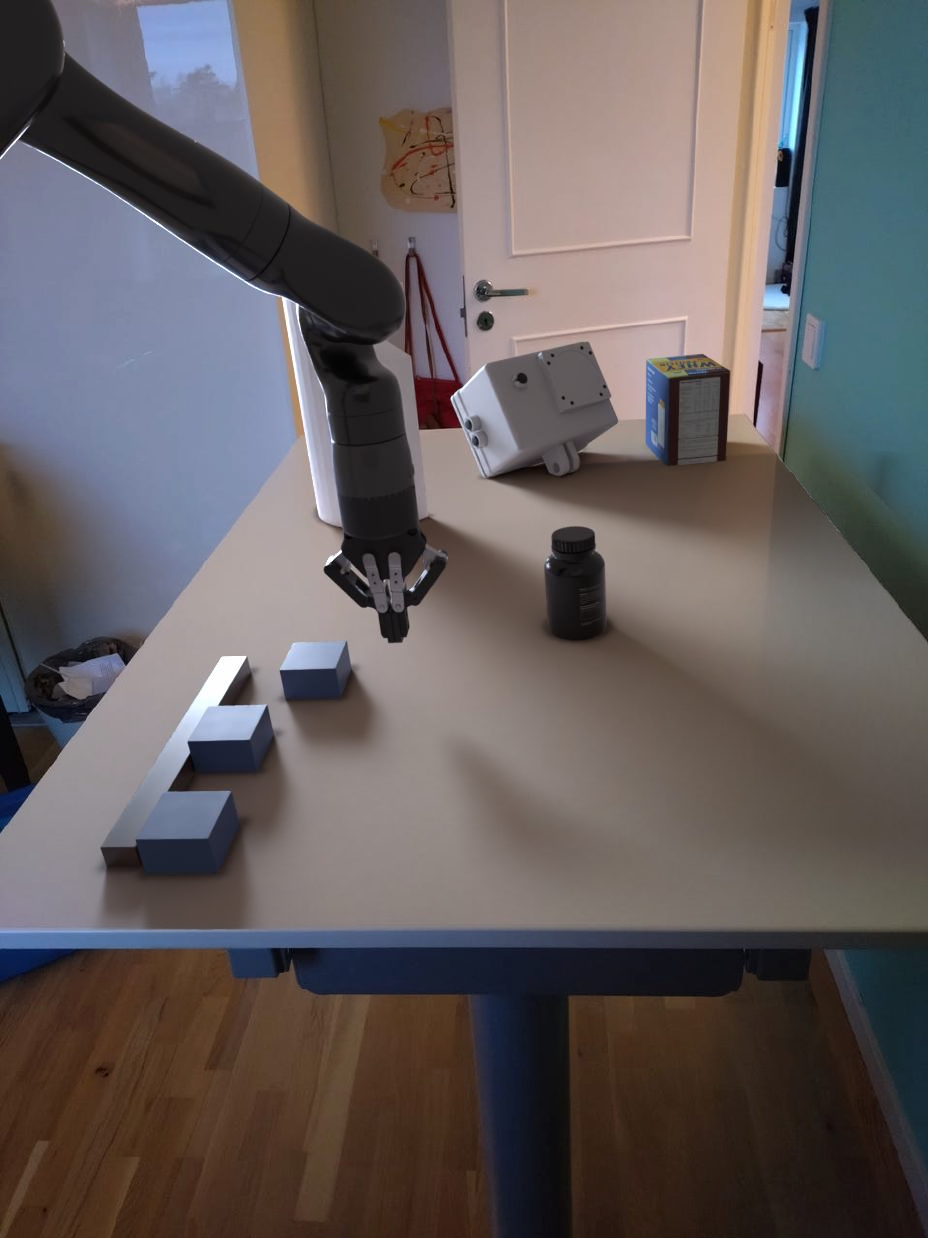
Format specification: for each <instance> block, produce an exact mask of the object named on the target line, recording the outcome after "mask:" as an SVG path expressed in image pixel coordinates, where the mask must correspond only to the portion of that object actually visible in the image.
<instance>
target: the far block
mask: <svg viewBox="0 0 928 1238" xmlns="http://www.w3.org/2000/svg"><path fill="white" fill-rule="evenodd" d="M351 672H352V664H351V657H350V650H349V644H348V640H331V641H329V640H327V641H302V642H300V641H299V642H293V643H292V645H291V647H290V649H289V651H288V652H287V655H286V657H285V659H284V661H283V663H282V664H281V667H280V669H279V675H280V679H281V684H282V685H281V686H282V689H283V695H284V699H285V700H303V699H305V700H307V699H309V700H311V699H338V698H339V699H340V698H342V696H343V693H344V690H345V687H346V686H347V683H348V680H349V677H350V674H351Z"/></svg>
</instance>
